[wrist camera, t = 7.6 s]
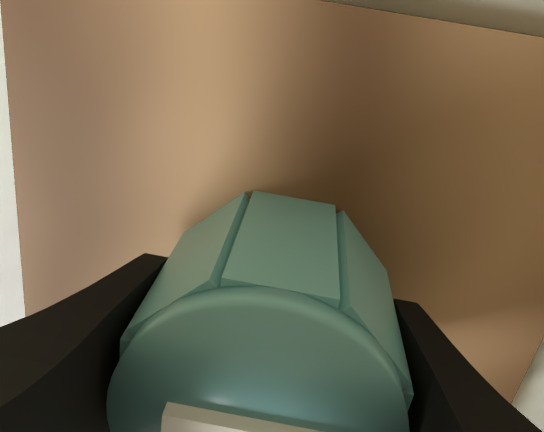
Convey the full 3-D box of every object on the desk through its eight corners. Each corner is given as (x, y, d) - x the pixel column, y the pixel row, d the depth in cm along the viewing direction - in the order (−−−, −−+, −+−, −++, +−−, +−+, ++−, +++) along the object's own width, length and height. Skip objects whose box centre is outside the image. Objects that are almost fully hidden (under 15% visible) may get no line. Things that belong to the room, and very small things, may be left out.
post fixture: (49, 404, 17) (-26, 517, 13) (23, -50, 11) (-127, -72, 7) (451, 482, 16) (487, 619, 13) (647, 54, 11) (816, 85, 7)
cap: (170, 351, 14) (99, 515, 10) (184, 177, 12) (99, 288, 7) (355, 386, 14) (369, 569, 9) (405, 217, 12) (455, 355, 7)
